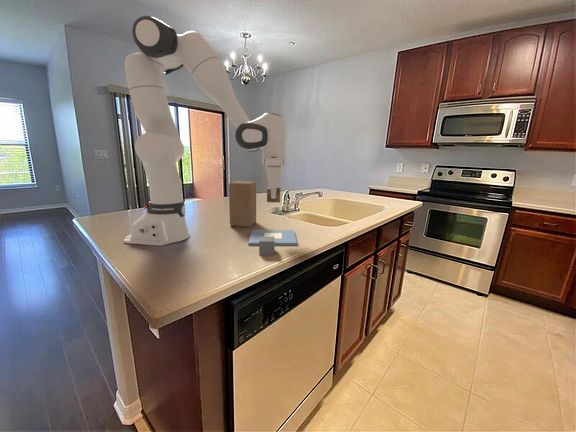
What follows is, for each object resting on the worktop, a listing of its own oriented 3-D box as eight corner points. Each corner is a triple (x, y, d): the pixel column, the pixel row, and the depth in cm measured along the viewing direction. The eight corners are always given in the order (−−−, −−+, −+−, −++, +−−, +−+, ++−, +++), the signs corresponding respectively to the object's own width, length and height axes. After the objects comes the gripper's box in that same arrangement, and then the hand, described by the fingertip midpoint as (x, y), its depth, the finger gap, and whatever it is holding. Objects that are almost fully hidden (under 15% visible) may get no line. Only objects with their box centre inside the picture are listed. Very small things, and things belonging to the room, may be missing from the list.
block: (249, 228, 114) (249, 183, 109) (229, 226, 116) (227, 182, 111) (256, 222, 124) (256, 181, 119) (237, 220, 126) (236, 180, 121)
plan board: (248, 245, 93) (248, 242, 93) (252, 232, 109) (251, 229, 108) (297, 245, 94) (297, 242, 94) (293, 232, 110) (293, 229, 109)
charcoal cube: (259, 255, 84) (259, 241, 83) (260, 250, 89) (260, 236, 88) (274, 255, 84) (274, 241, 83) (274, 250, 89) (274, 236, 88)
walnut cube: (266, 202, 95) (267, 189, 94) (267, 199, 100) (267, 187, 99) (280, 202, 95) (280, 189, 94) (279, 200, 100) (280, 187, 99)
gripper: (266, 159, 104) (266, 192, 107) (264, 160, 84) (264, 201, 87) (281, 159, 104) (280, 193, 108) (283, 161, 84) (282, 201, 88)
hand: (273, 197), depth 97 cm, fingers closed on walnut cube, 5 cm apart
